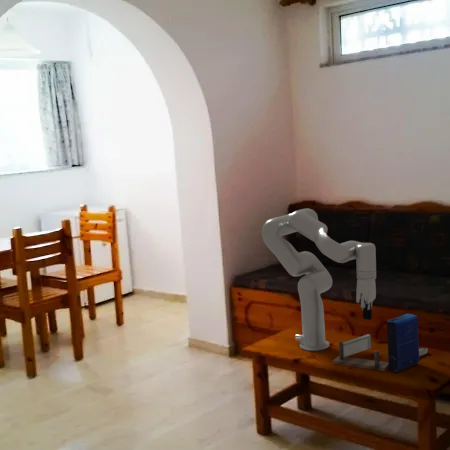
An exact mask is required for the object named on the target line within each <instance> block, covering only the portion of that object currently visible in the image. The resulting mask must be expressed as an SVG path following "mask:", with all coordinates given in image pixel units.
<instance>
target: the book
mask: <svg viewBox="0 0 450 450" xmlns="http://www.w3.org/2000/svg"><path fill="white" fill-rule="evenodd" d="M386 337H387V339H386V340H387V357H388V358H387V360H388V361H387V362H388V368H387V370H388V371H390V372H392V373H397V372H401V371H404V370H407V369H409V368H411V367H412V366H416V365H417V364H418V363H420V356H419V348H420V346H419V344H420V343H419V341H420V340H419V318H418V315H414V314H412V313H405V314H403V315H401V316H398V317H395V318H394V317H393V318H390V319H387V320H386Z"/></svg>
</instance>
